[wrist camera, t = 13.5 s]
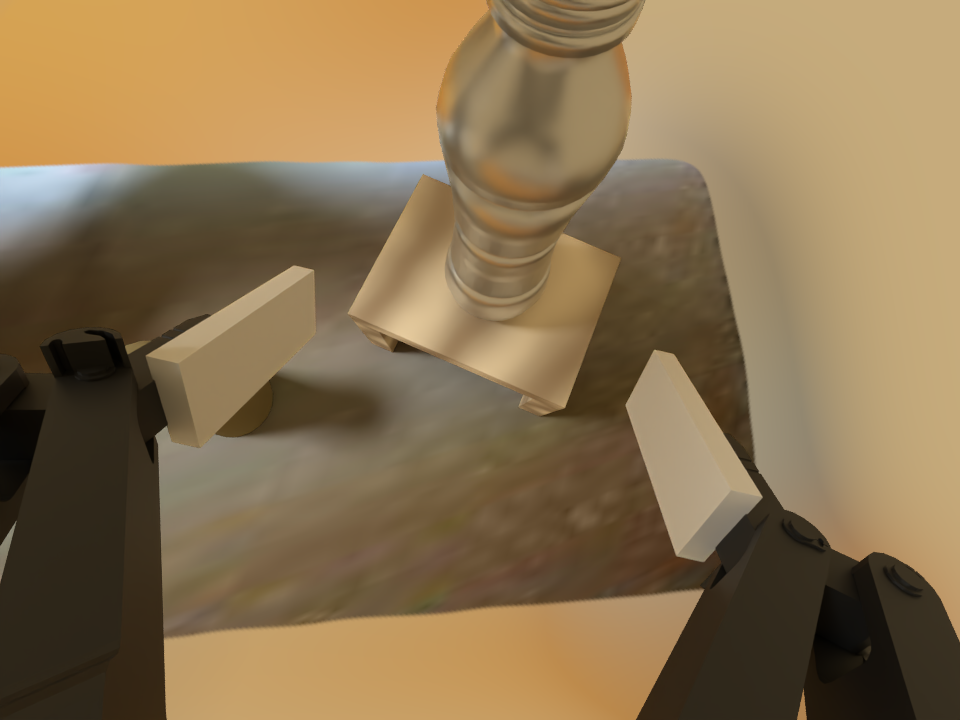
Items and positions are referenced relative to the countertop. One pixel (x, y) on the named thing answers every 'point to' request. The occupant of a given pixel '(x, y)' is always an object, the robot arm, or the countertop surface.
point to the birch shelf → (470, 340)
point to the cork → (246, 416)
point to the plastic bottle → (528, 139)
